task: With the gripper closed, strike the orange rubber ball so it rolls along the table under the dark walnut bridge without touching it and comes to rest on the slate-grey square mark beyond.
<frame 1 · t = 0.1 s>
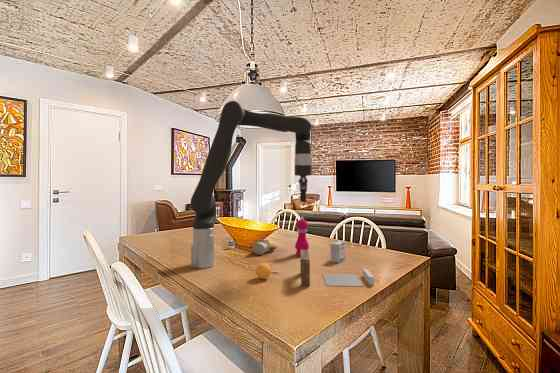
hand: (303, 201, 122), 29 cm above the table, fingers open, 8 cm apart
bridge: (304, 279, 106), on the table
ball: (263, 271, 107), on the table
stopper wall: (368, 280, 105), on the table
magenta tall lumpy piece: (302, 255, 144), on the table
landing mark: (341, 280, 105), on the table
coffee cup: (231, 249, 159), on the table
ceramic sculpture: (263, 253, 149), on the table
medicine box: (337, 261, 133), on the table
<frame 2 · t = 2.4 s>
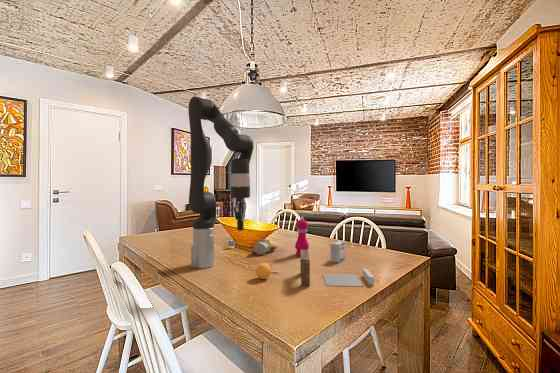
hand: (240, 230, 107), 19 cm above the table, fingers closed
nothing on the table moved.
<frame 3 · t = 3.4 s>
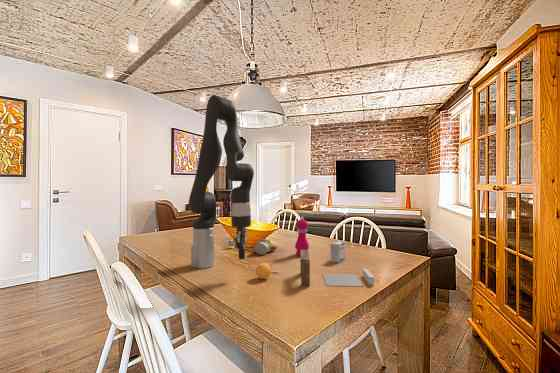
hand: (241, 258, 107), 8 cm above the table, fingers closed
nothing on the table moved.
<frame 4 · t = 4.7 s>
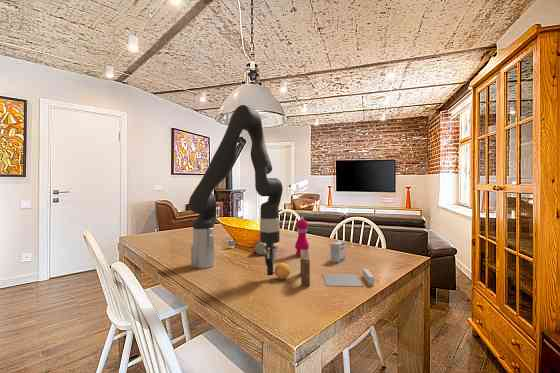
hand: (270, 274, 106), 2 cm above the table, fingers closed
ball: (282, 270, 107), on the table
everything else where it was.
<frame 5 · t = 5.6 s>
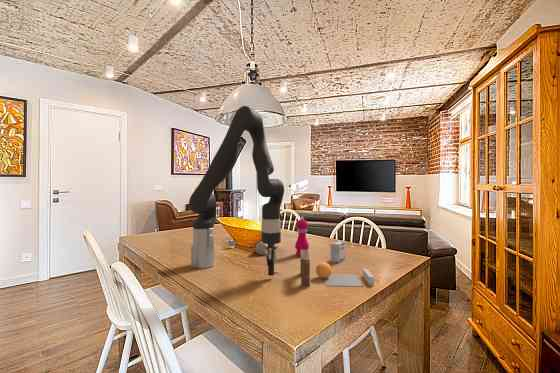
hand: (271, 275, 107), 2 cm above the table, fingers closed
ball: (323, 270, 108), on the table
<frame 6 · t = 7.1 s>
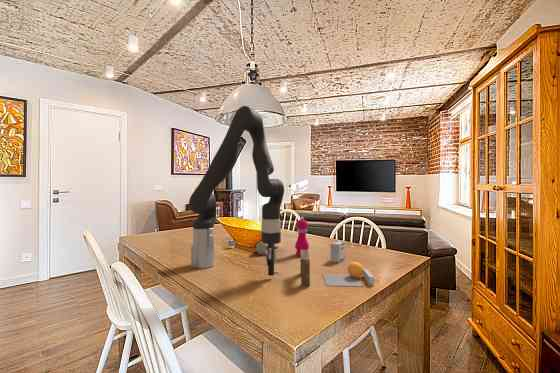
hand: (271, 275, 107), 2 cm above the table, fingers closed
ball: (355, 269, 108), on the table
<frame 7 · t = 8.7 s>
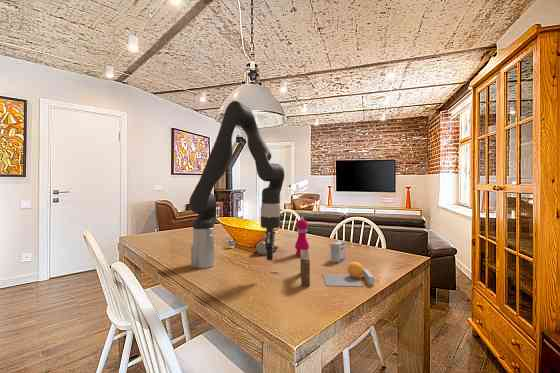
hand: (269, 259, 106), 7 cm above the table, fingers closed
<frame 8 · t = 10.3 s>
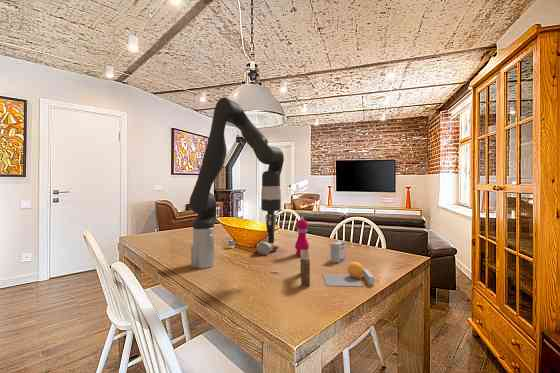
hand: (271, 242, 107), 14 cm above the table, fingers closed
at the end: ball 6.8 cm from the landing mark (horizontally); ball never touched bridge; ball at rest at the end (0.0 cm/s) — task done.
